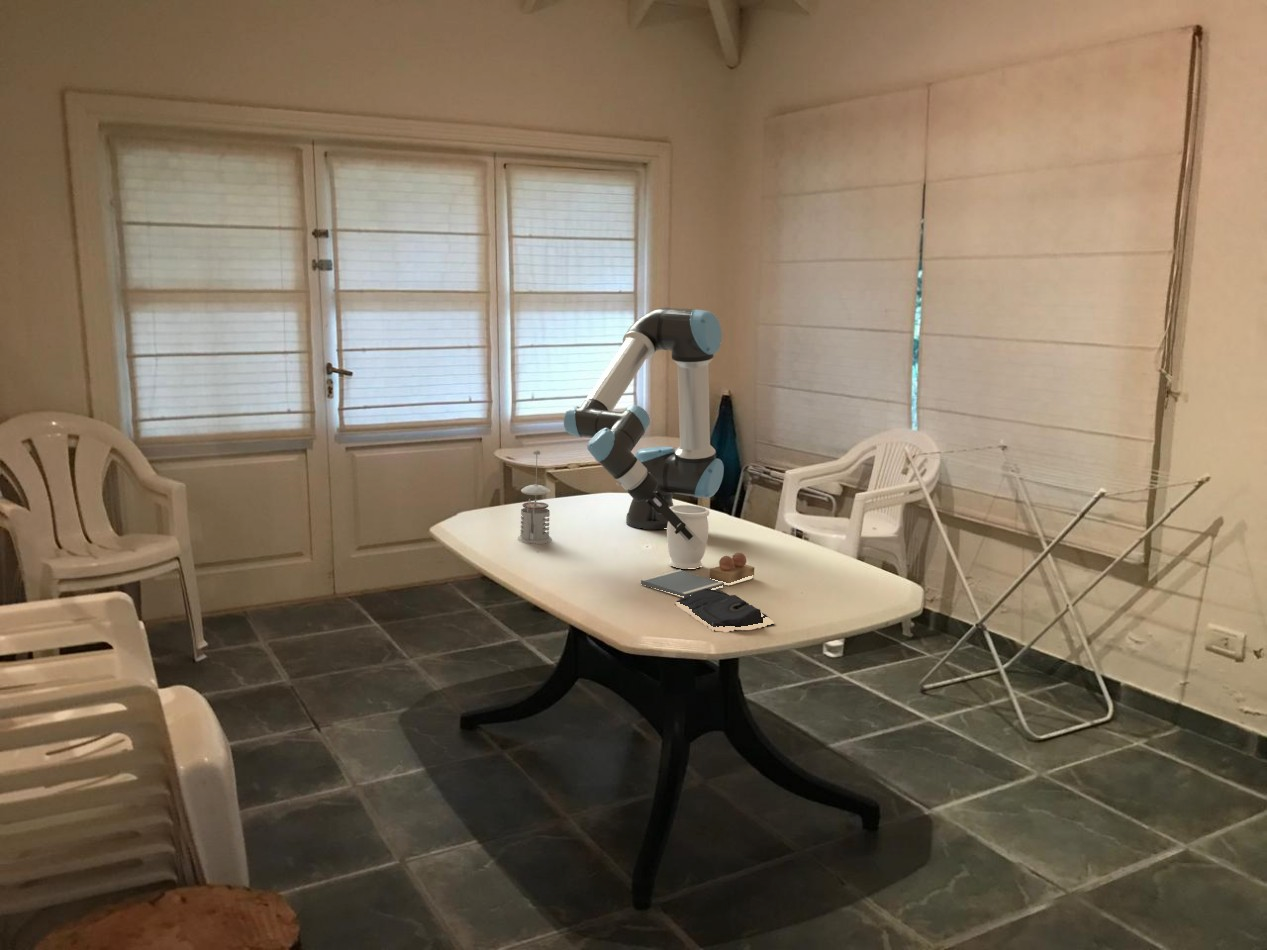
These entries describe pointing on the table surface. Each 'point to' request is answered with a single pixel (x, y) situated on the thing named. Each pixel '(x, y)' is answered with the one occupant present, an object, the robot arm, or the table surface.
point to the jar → (678, 545)
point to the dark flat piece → (722, 609)
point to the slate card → (680, 583)
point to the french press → (535, 515)
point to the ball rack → (732, 569)
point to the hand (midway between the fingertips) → (692, 539)
